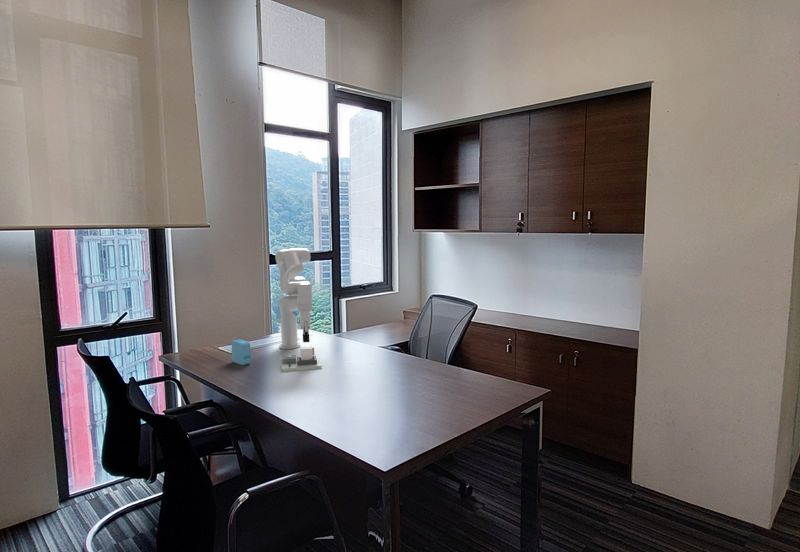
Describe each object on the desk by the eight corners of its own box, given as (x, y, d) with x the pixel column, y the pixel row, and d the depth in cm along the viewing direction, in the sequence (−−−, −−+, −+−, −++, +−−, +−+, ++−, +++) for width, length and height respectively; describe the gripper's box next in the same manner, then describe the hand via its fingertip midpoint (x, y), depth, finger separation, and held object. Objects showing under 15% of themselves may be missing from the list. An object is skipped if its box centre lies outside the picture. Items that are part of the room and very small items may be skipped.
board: (281, 363, 257) (281, 354, 257) (319, 360, 262) (318, 351, 262) (281, 371, 242) (281, 362, 242) (321, 368, 247) (321, 359, 246)
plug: (300, 362, 253) (300, 347, 252) (314, 361, 255) (313, 346, 254) (301, 364, 249) (300, 349, 248) (314, 363, 251) (314, 348, 250)
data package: (251, 364, 257) (250, 342, 256) (243, 365, 254) (242, 343, 252) (239, 360, 265) (238, 338, 264) (232, 361, 262) (231, 340, 260)
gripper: (297, 304, 255) (298, 338, 257) (298, 309, 240) (299, 345, 242) (311, 304, 257) (312, 337, 259) (313, 308, 242) (314, 344, 244)
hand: (306, 341), depth 251 cm, fingers closed
